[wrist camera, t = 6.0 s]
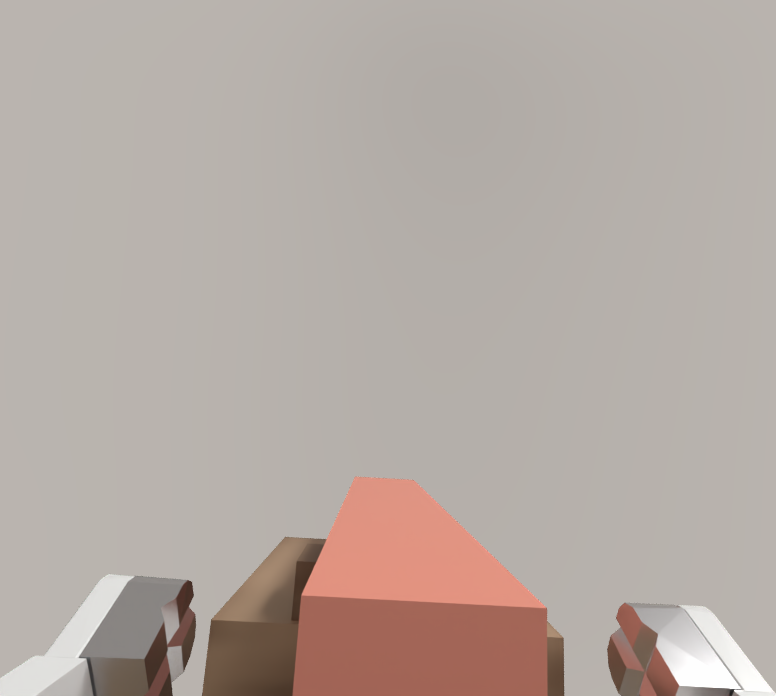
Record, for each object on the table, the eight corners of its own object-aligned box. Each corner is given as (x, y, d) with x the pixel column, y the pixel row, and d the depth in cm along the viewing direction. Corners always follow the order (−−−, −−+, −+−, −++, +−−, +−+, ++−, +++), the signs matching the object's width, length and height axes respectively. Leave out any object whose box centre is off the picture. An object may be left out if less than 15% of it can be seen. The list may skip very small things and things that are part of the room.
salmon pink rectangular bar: (548, 903, 6) (546, 607, 6) (274, 893, 5) (301, 595, 6) (410, 541, 25) (413, 480, 26) (351, 538, 25) (355, 476, 26)
